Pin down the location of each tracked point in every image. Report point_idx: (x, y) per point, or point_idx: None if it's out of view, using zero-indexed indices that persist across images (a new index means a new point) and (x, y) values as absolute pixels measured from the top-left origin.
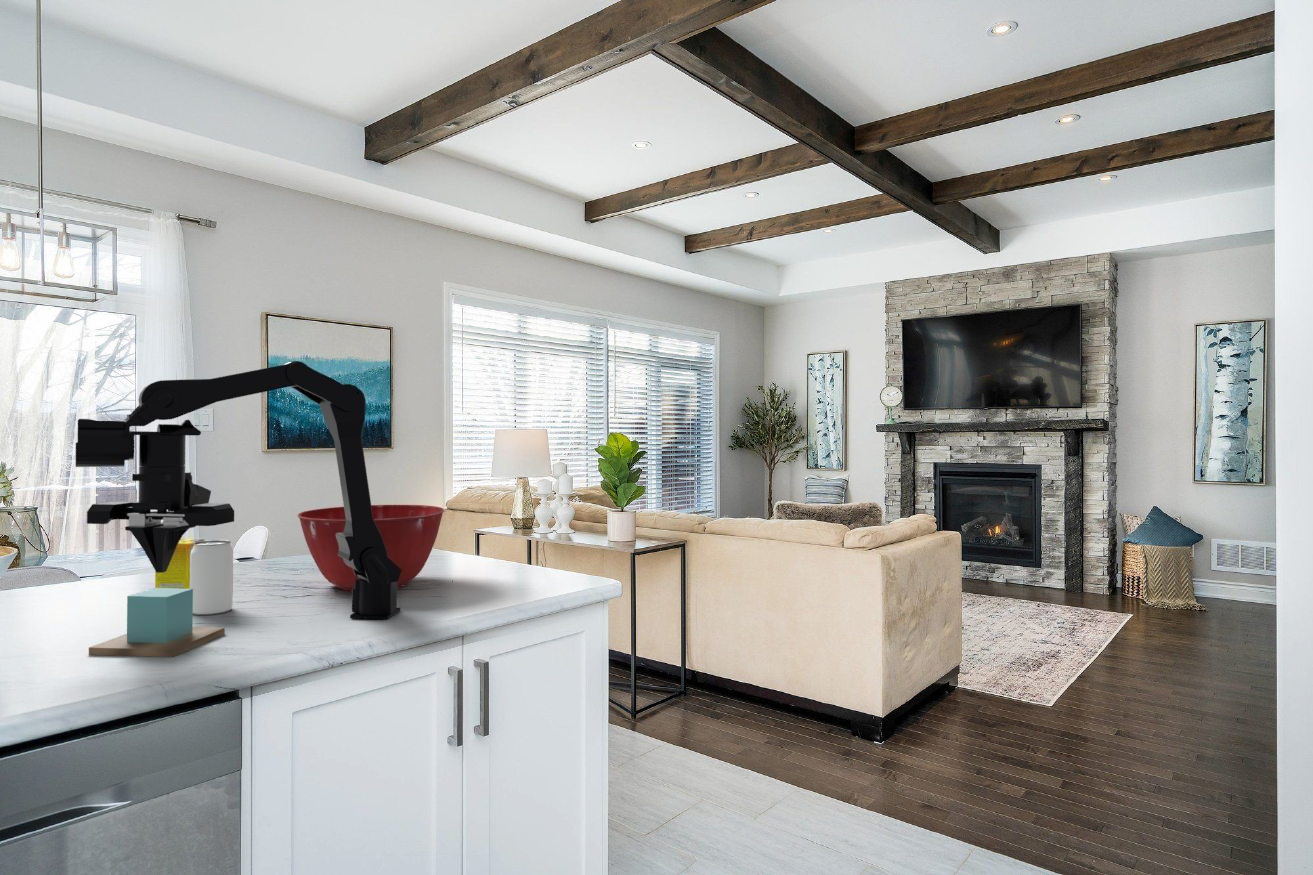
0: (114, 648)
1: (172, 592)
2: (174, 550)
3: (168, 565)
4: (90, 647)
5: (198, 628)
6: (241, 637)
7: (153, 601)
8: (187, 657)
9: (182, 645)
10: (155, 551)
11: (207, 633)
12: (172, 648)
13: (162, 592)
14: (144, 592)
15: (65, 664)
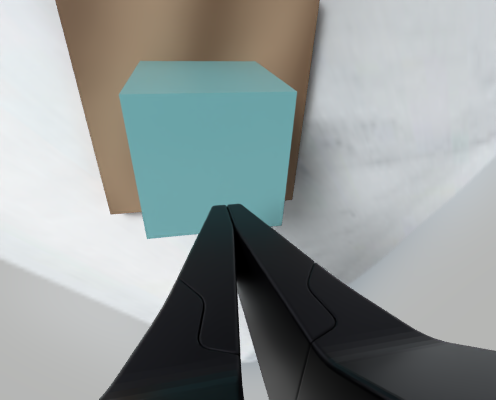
0: None
1: (259, 168)
2: (309, 261)
3: (254, 215)
4: (114, 213)
5: (247, 11)
6: (367, 28)
7: None
8: (314, 189)
9: (294, 172)
10: (256, 354)
11: (300, 69)
12: (287, 193)
13: (223, 173)
14: (156, 184)
15: (129, 253)
